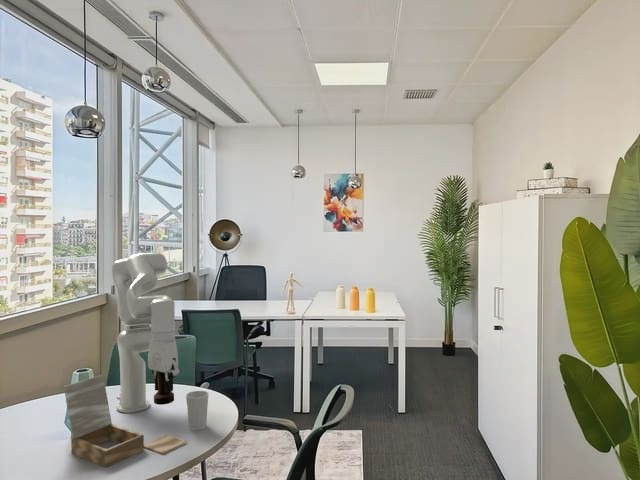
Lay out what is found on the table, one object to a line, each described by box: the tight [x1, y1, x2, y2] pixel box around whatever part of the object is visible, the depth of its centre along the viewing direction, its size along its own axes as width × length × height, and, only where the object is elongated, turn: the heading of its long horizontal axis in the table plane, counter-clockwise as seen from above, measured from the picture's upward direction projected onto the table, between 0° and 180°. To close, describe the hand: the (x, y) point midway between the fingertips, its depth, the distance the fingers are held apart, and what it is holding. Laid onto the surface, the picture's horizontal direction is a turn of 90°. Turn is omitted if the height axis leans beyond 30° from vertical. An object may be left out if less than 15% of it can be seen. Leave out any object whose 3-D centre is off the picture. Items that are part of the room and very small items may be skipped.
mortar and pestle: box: [153, 371, 175, 406], centre depth 171 cm, size 7×6×18 cm
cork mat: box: [144, 434, 187, 455], centre depth 172 cm, size 10×10×1 cm
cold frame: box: [63, 374, 145, 468], centre depth 168 cm, size 22×14×22 cm, turn 58°
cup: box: [185, 390, 210, 431], centre depth 187 cm, size 8×8×12 cm
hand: (164, 390), depth 171 cm, fingers closed on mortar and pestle, 3 cm apart
